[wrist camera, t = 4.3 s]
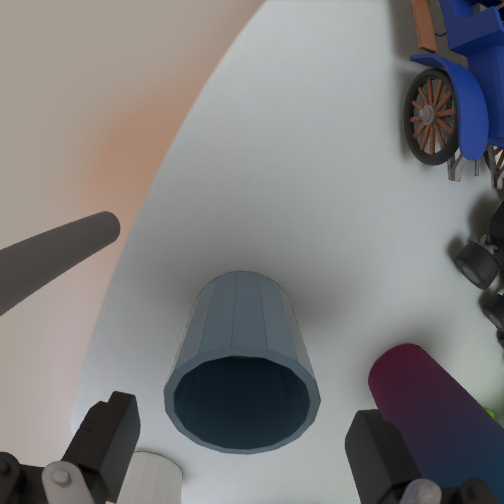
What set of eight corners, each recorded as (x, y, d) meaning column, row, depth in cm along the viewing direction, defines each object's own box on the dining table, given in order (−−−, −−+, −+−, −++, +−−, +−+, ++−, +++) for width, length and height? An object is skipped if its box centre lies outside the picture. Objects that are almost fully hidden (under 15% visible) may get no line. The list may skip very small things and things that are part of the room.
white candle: (176, 491, 24) (168, 543, 17) (114, 468, 23) (97, 519, 16) (198, 465, 22) (191, 527, 15) (126, 437, 21) (104, 498, 15)
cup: (353, 412, 21) (413, 574, 6) (359, 343, 19) (465, 536, 5) (426, 392, 21) (510, 521, 6) (441, 323, 19) (570, 456, 4)
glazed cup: (192, 353, 19) (169, 446, 11) (195, 266, 17) (159, 337, 10) (284, 361, 19) (302, 455, 11) (299, 275, 18) (336, 351, 10)
